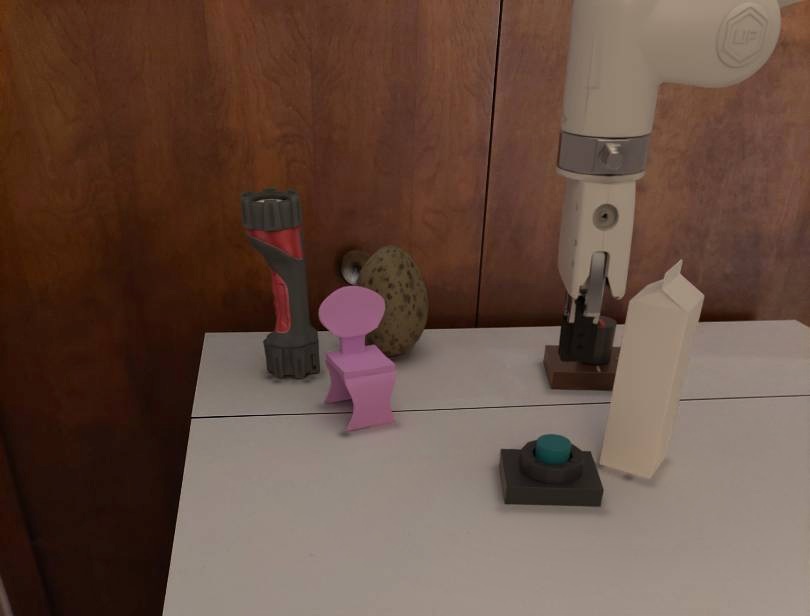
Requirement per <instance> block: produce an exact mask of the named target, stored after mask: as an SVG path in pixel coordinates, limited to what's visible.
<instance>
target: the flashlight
mask: <svg viewBox="0 0 810 616" xmlns="http://www.w3.org/2000/svg"><path fill="white" fill-rule="evenodd" d="M240 214H241V215H240V216H241V226H242V227H243V228H244V231H245V236H246V238H247V240H248V242H249V243H250V245H251V246H252V247H253V248H254V250H256V251H257V252H258V253H259V254H260V255H261V256H262V257H263V259H264V260H265V262H266V264H267V267H268V269H269V273H270V280H271V292H272V295H273V306H274V310H275V311H274V315H275V317H276V318H275V319H276V320H275V327H274V328H273V330H272V331H271V332H270V333H268V334H267V335H266V337H265V338H264V339H263V341H262V344H263V350H264V355H265V364H266V366H265V367H266V371H267V372H268V373H273V374H274V376H275V377H276V378H279V379H283V378H284V377H285V376H294V377H295V379H303V378H305V377H306V374H309V375H312V374H318V373H320V371H321V360H320V346H319V345H320V343H319V341H320V340H319V333H318V330H317V329H316V328H315V327H314V326H312V325H311V319H310V307H309V306H310V305H309V293H308V278H307V268H306V258H305V255H304V254H305V249H306V245H305V237H304V236H305V235H304V229H303V223H304V219H303V212H302V207H301V199H300V193H299V191H298V190H296V189H293V188H288V189H287V191H284V190H283V191H282V190H277V188H276V187H275V186H274V187H273V186H267V187H263V188H262V191H256V192H252V191H251V190H245V191H243V192H242V193H241V194H240Z"/></svg>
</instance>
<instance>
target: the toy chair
mask: <svg viewBox="0 0 810 616" xmlns="http://www.w3.org/2000/svg"><path fill="white" fill-rule="evenodd" d="M384 311H385V301H384V299H383V298H382V296H380V295H379V294H378V293H376V292H374V291H372V290H370V289H367V288H364V287H359V286H355V285H347V286H343V287H340V288H338V289H336V290H334V291H333V292H332V293H330V294H329V295H328V296H327V297H326V298H325V299H324V300H322V303H321V304H320V306H319V308H318V313H317V315H318V320H319V322H320V324H321V325H322V326H323V327H324V328H325V329H326V330H328V331H329V332H330V333H331V335H333V336H336V337H338V338H339V339H338V340H339V350H332V351H325V359H324V362H325V366H326V368H327V370H328V373H329V376H330V384H329V388H328V391H327V393H326V396H325V397H324V400H323V403H324V404H330V403H337V402H342V401H347V400H352V405H353V409H352V415H351V417H350V420H349V422H348V424H347V426H346V429H345V431H346V432H350V431H356V430H361V429H366V428H370V427H375V426H381V425H385V424H390V423H391V424H392V423H395V422H396V420H395V418H394V414H393V412H392V404H391V403H392V402H391V400H392V395H393V390H394V387H395V385H396V384H395V383H396V381H397V374H396V364H395V363H394V361H392V360H391V359H390V358H388V356H385V355H384V354H383V353H382V352H381V351H380V350H379V349H378V348H377V347H376V346H375V345H370V346H365V335H366V334H368V333H369V332H371V331H373V330H374V329H376V328H377V327H378V325H379V323H380V321H381V319H382V317H383V314H384Z"/></svg>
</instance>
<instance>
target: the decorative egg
mask: <svg viewBox="0 0 810 616" xmlns="http://www.w3.org/2000/svg"><path fill="white" fill-rule="evenodd" d="M354 286H359V287H364V288H367V289H370V290H372V291H374V292H376V293H378V294H379V295H380V296H382V298H383V299H384V301H385V311H384V314H383V317H382V319H381V321H380V323H379V325H378V327H377V328H376V329H374V330H373V331H371V332H369V333H368V334H366V335H365V346H370V345H375V346H376V347H377V348H378V349H379V350H380V351H381V352H382V353H383V354H384V355H385V356H386V357H396V356H398V355H400V354H401V355H402V354H404V353H406V352H407V351H410V350H411V349H412V348H413V347H414V346H415V345H416V344H417V342H418V341H419V340H420V339H421V337H422V335H423V333H424V332H425V329H426V325H427V323H428V322H427V321H428V316H429V300H428V293H427V288H426V284H425V281H424V277H423V276H422V274H421V272H420V270H419V268H418V266H417V264H416V262H415V261H414V259H413V258H412V257H411V256H410V254H409V253H407V252H406V251H405V250H404V249H403V248H401V247H399V246H396V245H386V246H383V247H381V248H379V249H378V250H377V251H375V252H374V253H372V255H371V256H369V258H368V259H367V261H366V262H365V263H364V264H363V266H362V268H361V269H360V272H359V274H358V275H357V278H356V279H355V283H354Z"/></svg>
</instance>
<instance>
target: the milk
mask: <svg viewBox="0 0 810 616" xmlns="http://www.w3.org/2000/svg"><path fill="white" fill-rule="evenodd" d="M683 262H684V261H683V259H682V258H681V259H680V260H679V261H677V262H676V263H675V264H674V265H673V266H672V267H670V268H669V269H668V270H667V271H666V272H665V273H664V276H663V278H662V279H660V280H657V281H654V282H652V283H649V284H647V285H645V287H643V288H642V289H641V290H640V291H639V292H638V293H636V295H635V296H633V297H632V298H631V299H630V300H629V302H628V306H627V310H626V317H625V321H624V328H623V332H622V338H621V344H620V347H621V349H620V354H619V359H618V365H617V370H616V376H615V381H614V386H613V390H612V392H611V398H610V402H609V403H610V404H609V409H608V414H607V419H606V425H605V430H604V435H603V439H602V440H603V441H602V446H601V452H600V456H599V465H602V466H605V467H607V468H612V469H615V470H619V471H622V472H626V473H628V474H632V475H635V476H639V477H642V478H646V479H648V480H650V479H651V478H652V477H653V476H654V474H655V473H656V472H657V470H658V469H659V467H660V466H661V464H662V463H663V461H664V460H665V459H666V457H667V455H668V450H669V446H670V442H671V437H672V434H673V430H674V425H675V421H676V417H677V412H678V410H679V409H678V408H679V405H680V401H681V396H682V393H683V392H682V391H683V388H684V384H685V379H686V375H687V371H688V367H689V363H690V360H691V359H690V358H691V354H692V349H693V347H694V341H695V337H696V335H697V334H696V333H697V329H698V325H699V321H700V317H701V312H702V309H703V305H704V301H705V294H704V293H703V292H701V291H700V290H699V289H698V288H697V287H696V286H695V285H694V284H692V283H691V282H690V280H688V279H687V278H686V277H684V276H683V275H682V273H681V271H682V267H683V266H682V265H683Z"/></svg>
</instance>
